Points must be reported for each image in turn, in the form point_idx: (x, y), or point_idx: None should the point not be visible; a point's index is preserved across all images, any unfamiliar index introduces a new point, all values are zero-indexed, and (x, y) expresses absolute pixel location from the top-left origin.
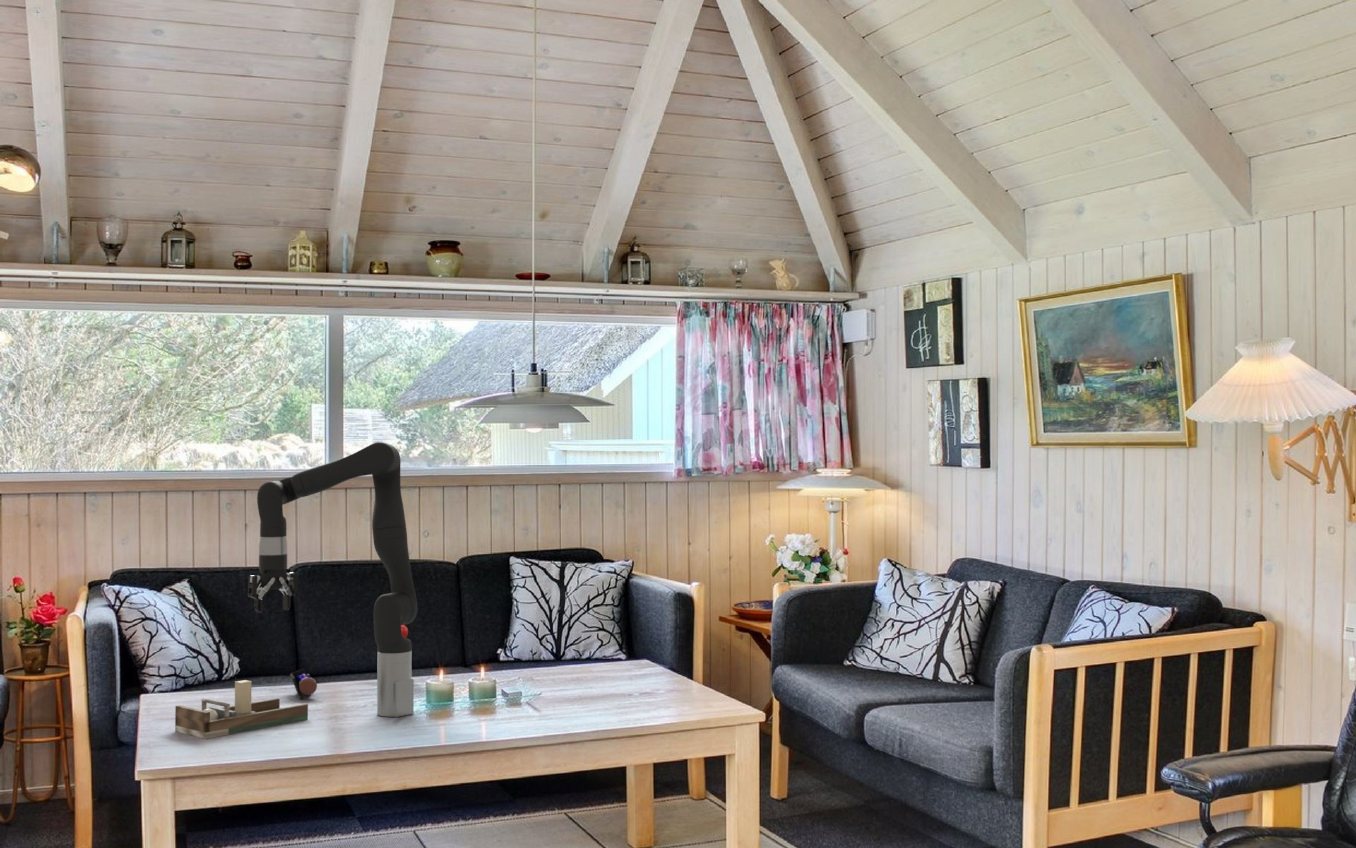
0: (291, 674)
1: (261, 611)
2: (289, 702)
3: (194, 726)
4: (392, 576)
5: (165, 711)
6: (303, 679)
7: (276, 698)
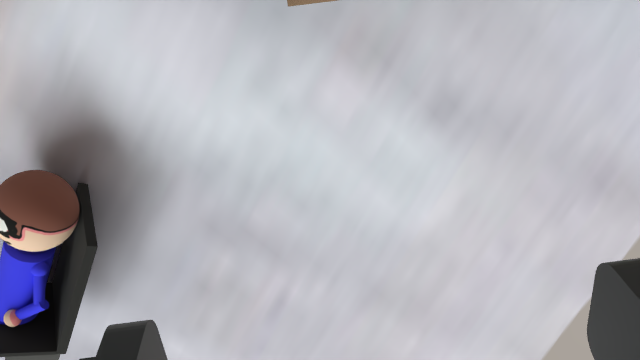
0: (66, 334)
1: (628, 266)
2: (146, 169)
3: None
4: None
5: (544, 299)
6: (48, 227)
7: (293, 2)
